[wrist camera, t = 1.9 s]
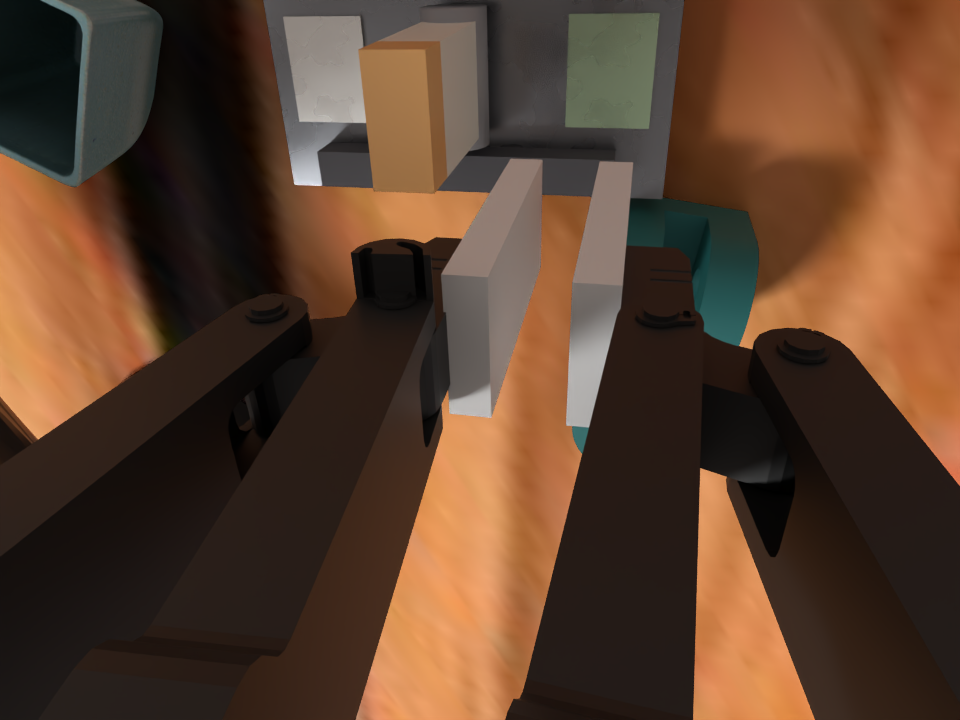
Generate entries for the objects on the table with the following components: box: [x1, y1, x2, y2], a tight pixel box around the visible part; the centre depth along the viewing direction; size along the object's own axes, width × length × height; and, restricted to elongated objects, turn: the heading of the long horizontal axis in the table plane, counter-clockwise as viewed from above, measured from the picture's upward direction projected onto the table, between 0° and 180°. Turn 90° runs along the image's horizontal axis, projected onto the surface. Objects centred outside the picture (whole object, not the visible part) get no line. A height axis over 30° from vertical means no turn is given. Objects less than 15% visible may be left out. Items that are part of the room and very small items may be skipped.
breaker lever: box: [358, 3, 490, 194], centre depth 30 cm, size 3×6×10 cm, turn 1°
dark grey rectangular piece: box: [317, 142, 616, 197], centre depth 34 cm, size 15×11×2 cm
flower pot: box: [0, 0, 163, 187], centre depth 37 cm, size 9×9×9 cm
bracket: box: [572, 198, 759, 453], centre depth 40 cm, size 18×7×8 cm, turn 173°
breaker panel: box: [263, 0, 684, 199], centre depth 36 cm, size 20×12×3 cm, turn 91°
